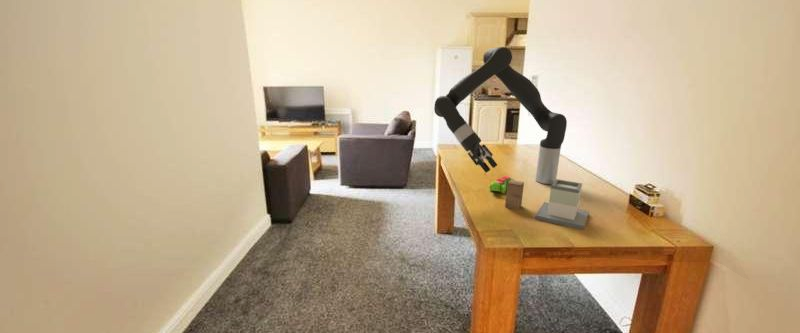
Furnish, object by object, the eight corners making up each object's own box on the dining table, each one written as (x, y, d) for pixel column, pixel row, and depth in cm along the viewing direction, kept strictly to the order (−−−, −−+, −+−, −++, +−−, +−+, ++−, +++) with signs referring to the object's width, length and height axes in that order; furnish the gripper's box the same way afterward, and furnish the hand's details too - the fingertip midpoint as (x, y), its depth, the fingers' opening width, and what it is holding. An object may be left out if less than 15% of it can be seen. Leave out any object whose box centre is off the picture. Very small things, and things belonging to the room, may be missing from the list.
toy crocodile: (503, 183, 171) (505, 170, 169) (517, 186, 167) (518, 173, 165) (484, 193, 156) (486, 180, 155) (499, 197, 152) (500, 183, 151)
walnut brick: (508, 203, 145) (511, 179, 143) (521, 205, 143) (524, 181, 140) (505, 206, 141) (507, 182, 138) (517, 209, 139) (520, 185, 136)
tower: (543, 205, 143) (548, 175, 140) (588, 214, 135) (593, 182, 132) (534, 219, 130) (539, 186, 127) (583, 230, 122) (589, 195, 119)
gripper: (467, 134, 138) (493, 167, 135) (480, 129, 150) (504, 159, 147) (453, 145, 142) (478, 178, 140) (467, 140, 154) (490, 170, 151)
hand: (492, 168), depth 143 cm, fingers open, 8 cm apart
